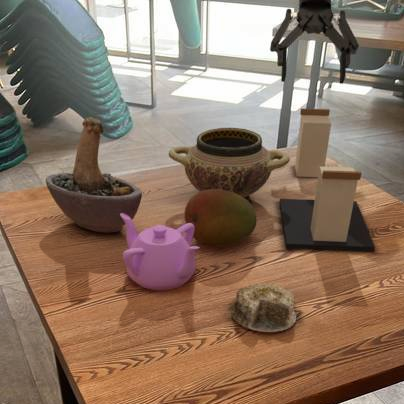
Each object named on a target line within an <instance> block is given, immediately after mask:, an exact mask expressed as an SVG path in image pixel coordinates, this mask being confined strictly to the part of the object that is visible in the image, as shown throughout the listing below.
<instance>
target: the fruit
mask: <svg viewBox="0 0 404 404" xmlns="http://www.w3.org/2000/svg"><path fill="white" fill-rule="evenodd" d="M184 221H185V224H187V223H192V224H193V225H194V235H193V238H195V239H197V240H198V241H200V242H201V243H204V244H206V245H210V246H215V247H224V246H232V245H236V244H237V243H240V242H242V241H244V240H245V239H247V238H248V237H249V236H250V235H252V233H253V232H254V230H256V227H257V223H258V219H257V213H256V211H255V209H254V207H253V205H252V204H251V203H250V202H249V201H247V200H246V199H245V198H243V197H242V196H240V195H238V194H236V193H233V192H230V191H226V190H220V189H208V190H204V191H201V192H200V191H198V192H197V193H195V194H193V196H192V197H191V198H190V199H189V200H188V201H187V203H186V205H185V209H184Z"/></svg>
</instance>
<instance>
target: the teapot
mask: <svg viewBox="0 0 404 404" xmlns="http://www.w3.org/2000/svg"><path fill="white" fill-rule="evenodd" d="M120 216H121V217H122V219H123V220H124V222H125V224H126V225H125V229H126V245H127V248H128V249H126V250H124V252H123V254H122V260H123V263H124V265H125V266H126V267H125V268H126V273H127V275H128V276H129V278H130V279H131V280H132V281H133V282H135V283H136V284H137V285H139V286H140V287H142V288H145V289H146V290H147V289H148V290H151V291H169V290H173V289H177V288H179V287H181V286H183V285H184V284H186V283H187V282H188V281H189V280H190V279H191V278H192V277H193V275H194V274H195V271H196V266H197V264H196V252H197V250H198V249H199V250H200V249H201V248H200V246H197V245H191V243H192V240H193V238H194V236H193V235H194V225H193V224H192V223H187V224H186V223H185V224H183V225H181V226H179V227H178V228H176V229H175V228H172V227H169V226H166V225H164V224H156V225H154V226H152V227H148V228H145V229H144V230H142V231H141V232H140V233H138V232H137V229H136V226H135V224H134V222H133V219H132V220H131V218H130V217H129V216H128V215H126V214H124V213H120ZM184 233H185V235H183V234H184Z"/></svg>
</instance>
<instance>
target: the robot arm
mask: <svg viewBox="0 0 404 404" xmlns="http://www.w3.org/2000/svg"><path fill="white" fill-rule="evenodd" d="M295 20H296V22H297V25H296V26H295V27H294V28H293V29H292V30H291V32H289V33H288V34H287V36H285V34H286V32H287V30H288V28H289V27H290V25H291V24H292V23H293V22H294V21H295ZM333 21H334V23H335V25H336V26H338V30H339V31H338V30H337V29H336V28H335V26H334V23H332V22H333ZM304 33H306V34H316V35H320V34H323V36H325V37H326V38H328V39H329V40H330V42H331V43H332V44H333V45H334V46H335V47H336V49H337V50H338V51H339V52H340V53H341V54H340V57H339V84H344V81H345V79H346V73H347V69H349V67H350V64H351V55H356V54H357V52H358V50H359V46H360V45H359V42H358V40H357V39H356V36H355V35H354V32H353V30H352V29H351V26H350V25H349V22H348V21H347V17H346V11H345V10H343V9H342V10H340V11H339V13H334V12H333V11H332V0H298V11H292V9H291V8H287V9H286V11H285V17H284V19H283V21H282V23H281V24H280V26H279V28H278V29H277V31H276V33H275V34H274V36H273V37H272V40H271V42H270V47H269V51H270V52H272V53H276V56H277V58H276V59H277V67H281V79H280V80H281V83H284V82H286V77H287V60H288V58H287V57H288V55H287V54H288V49H289V47H291V45H292V44H293V43H294V42H295V41H296V40H297V39H298V38H299V37H301V36H302V35H303V34H304ZM284 36H285V38H283V37H284Z"/></svg>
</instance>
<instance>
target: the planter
mask: <svg viewBox="0 0 404 404" xmlns="http://www.w3.org/2000/svg"><path fill="white" fill-rule="evenodd" d="M81 125H82V126H83V127H82V131H81V135H80V137H79V141H78V145H77V148H76V154H75V161H74V166H73V170H72V172H61V173H53V174H50V175H48V176H47V177H46V178H45V184H46V188H47V189H48V191H49V194H50V195H51V197H52V199H53V201H54V202H55V204H56V205H57V206H58V208H59V209H60V210H61V211H62V213H63V214H64V215H65V216H66V217H67V218H68V219H69V220H71V221H73V222H74V223H75V224H76V226H79V227H80V228H83V229H85V230H89V231H92V232H97V233H105V234H106V233H108V234H111V233H117V232H120V231H121V230H123V228H124V226H126V224H125V222H124V220H123V219H122V217H121V216H120V213H124V214H126V215H128V216H129V217H130V218H131V220H132V221H133V220H134V218H135V217H136V215H137V213H138V210H139V208H140V205H141V202H142V197H143V191H142V189H140V188H139V187H138V186H137V185H135V184H134V183H132V182H130V181H127V180H125V179H122V178H119V177H116V176H113V175H111V173H109V172H104V173H102V171H101V169H100V166H99V149H100V140H101V134H102V133H104V126H103V124H102V121H101V120H100V119H98V118H95V117H92V116H88V117H85V119H84V120H83V121H82V123H81Z"/></svg>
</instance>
